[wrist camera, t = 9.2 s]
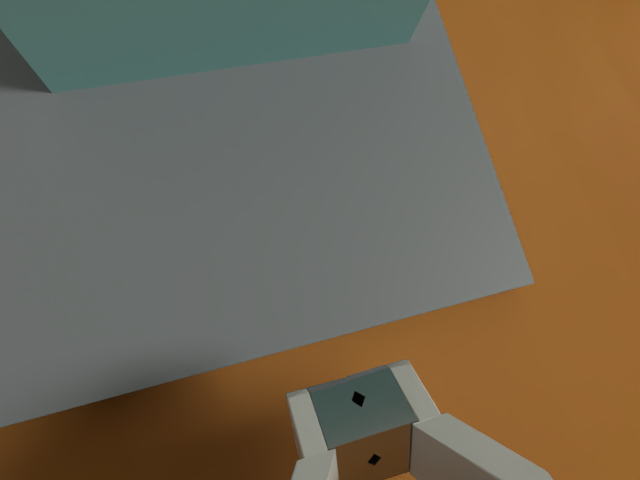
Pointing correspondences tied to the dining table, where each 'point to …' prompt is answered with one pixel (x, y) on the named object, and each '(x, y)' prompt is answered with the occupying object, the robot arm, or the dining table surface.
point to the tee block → (191, 34)
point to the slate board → (236, 215)
